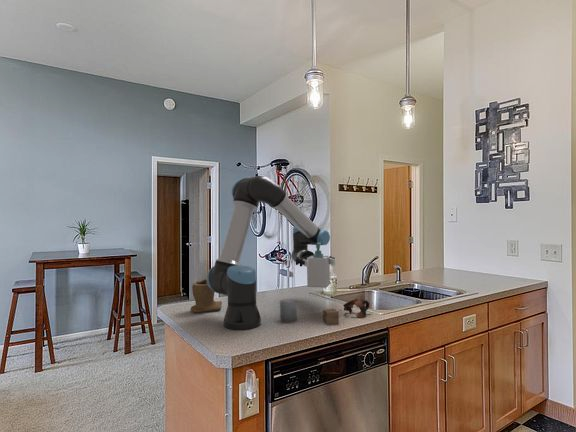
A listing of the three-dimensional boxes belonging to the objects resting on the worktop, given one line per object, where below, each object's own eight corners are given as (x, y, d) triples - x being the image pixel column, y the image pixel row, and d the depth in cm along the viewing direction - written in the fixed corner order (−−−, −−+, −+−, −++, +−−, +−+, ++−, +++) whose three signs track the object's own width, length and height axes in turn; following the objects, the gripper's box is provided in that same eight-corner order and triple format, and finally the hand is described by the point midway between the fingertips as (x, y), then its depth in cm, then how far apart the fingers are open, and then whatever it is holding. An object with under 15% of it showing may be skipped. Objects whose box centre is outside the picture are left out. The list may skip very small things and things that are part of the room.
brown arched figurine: (355, 320, 151) (346, 302, 154) (346, 325, 159) (337, 307, 162) (377, 310, 156) (368, 292, 158) (367, 314, 164) (358, 298, 167)
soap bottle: (330, 284, 163) (329, 242, 163) (326, 287, 155) (325, 243, 155) (311, 283, 166) (310, 242, 166) (307, 287, 157) (306, 243, 157)
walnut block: (322, 321, 149) (322, 309, 149) (334, 320, 150) (333, 308, 150) (327, 324, 144) (327, 312, 144) (338, 323, 146) (338, 311, 146)
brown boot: (191, 315, 161) (191, 282, 161) (189, 309, 172) (189, 278, 172) (225, 312, 166) (225, 280, 166) (221, 306, 177) (220, 276, 178)
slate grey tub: (287, 323, 147) (287, 303, 147) (276, 319, 153) (276, 301, 153) (300, 319, 152) (299, 301, 152) (289, 316, 157) (289, 298, 157)
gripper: (328, 264, 181) (346, 270, 160) (283, 266, 175) (295, 273, 154) (328, 249, 181) (346, 253, 160) (282, 251, 175) (294, 255, 154)
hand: (321, 263), depth 157 cm, fingers closed on soap bottle, 12 cm apart
